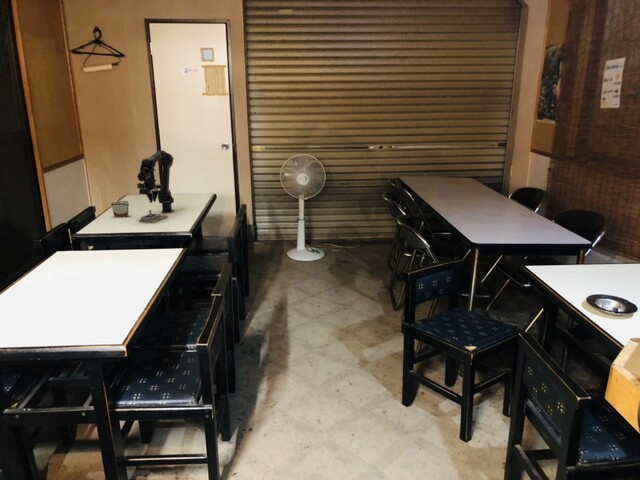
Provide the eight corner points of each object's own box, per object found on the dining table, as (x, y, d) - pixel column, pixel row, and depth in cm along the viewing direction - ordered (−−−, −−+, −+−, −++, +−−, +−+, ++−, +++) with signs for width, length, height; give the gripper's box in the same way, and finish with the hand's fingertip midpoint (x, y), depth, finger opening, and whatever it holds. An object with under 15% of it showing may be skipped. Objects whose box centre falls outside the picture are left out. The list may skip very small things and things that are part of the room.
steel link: (150, 216, 327) (150, 213, 327) (161, 217, 325) (160, 214, 324) (141, 220, 318) (140, 217, 317) (151, 221, 316) (151, 218, 315)
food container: (134, 215, 336) (132, 200, 333) (129, 217, 330) (128, 202, 327) (116, 215, 337) (114, 200, 334) (112, 217, 331) (110, 202, 328)
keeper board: (152, 216, 331) (151, 206, 329) (166, 217, 328) (165, 207, 326) (139, 222, 318) (137, 211, 316) (153, 223, 315) (152, 212, 313)
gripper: (148, 175, 331) (150, 198, 336) (130, 180, 314) (133, 204, 319) (162, 176, 328) (165, 199, 333) (145, 181, 311) (148, 205, 316)
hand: (152, 202), depth 325 cm, fingers open, 3 cm apart
